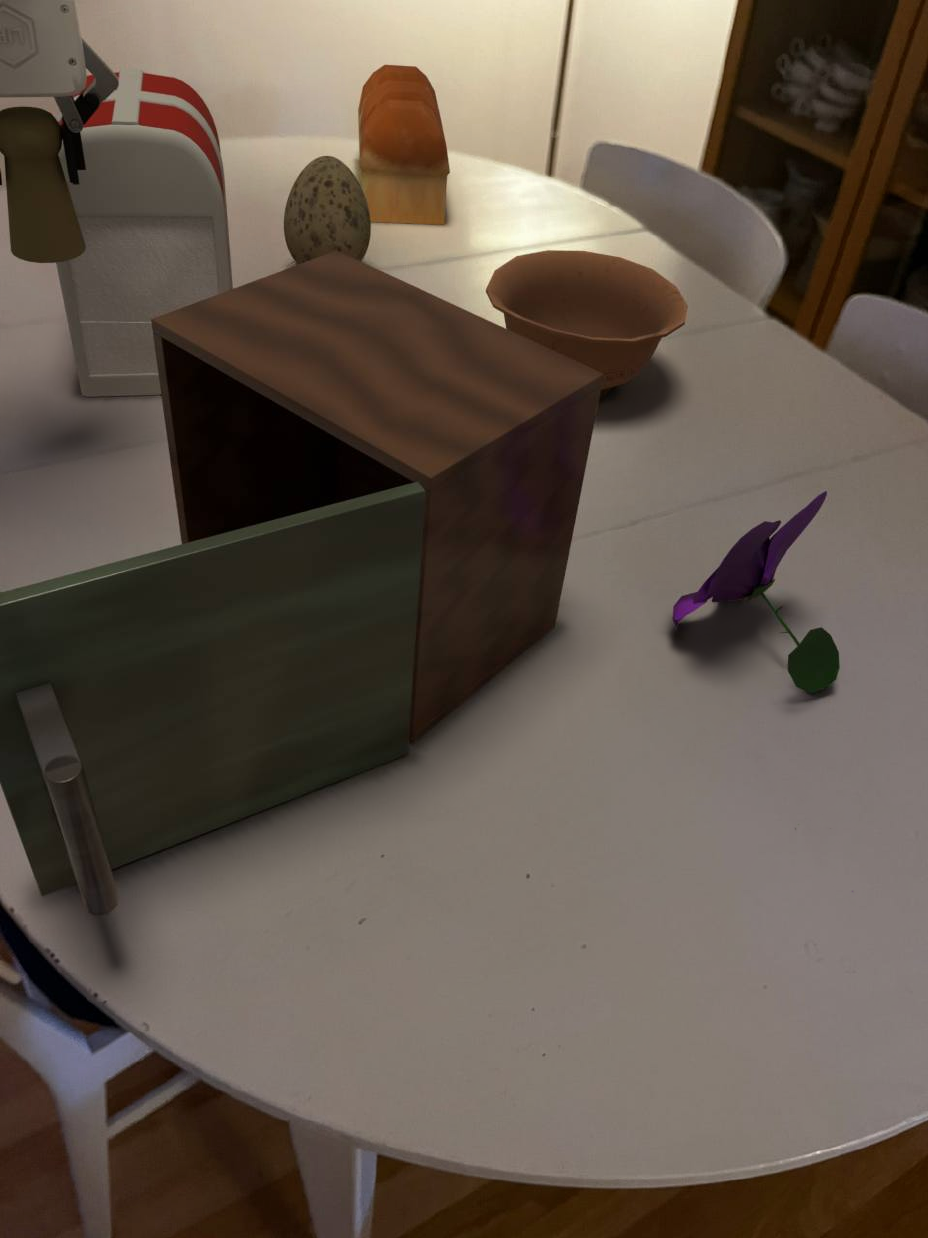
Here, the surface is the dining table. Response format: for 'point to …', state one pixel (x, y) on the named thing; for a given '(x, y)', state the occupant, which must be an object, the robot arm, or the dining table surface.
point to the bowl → (589, 308)
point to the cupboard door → (205, 683)
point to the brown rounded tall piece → (37, 188)
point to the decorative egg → (326, 212)
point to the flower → (750, 577)
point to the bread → (402, 147)
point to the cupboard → (388, 444)
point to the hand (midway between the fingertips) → (35, 177)
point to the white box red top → (142, 227)
